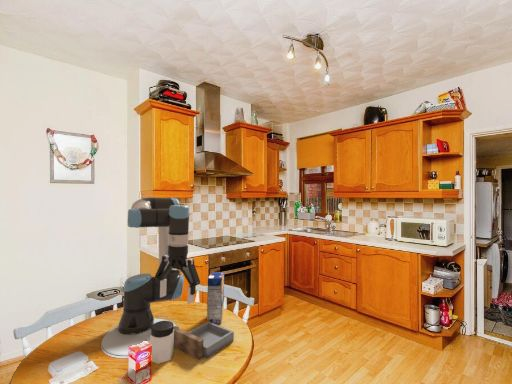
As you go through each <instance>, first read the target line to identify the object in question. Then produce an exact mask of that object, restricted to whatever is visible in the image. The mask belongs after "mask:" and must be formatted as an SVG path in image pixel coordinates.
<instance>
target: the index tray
mask: <svg viewBox="0 0 512 384" xmlns="http://www.w3.org/2000/svg"><path fill="white" fill-rule="evenodd" d="M187 332H188V333H190V334H192V335H195V336H197V337H199V338H201V339H204V340H203V359H204V358H205V359H208V358H210V357H212V356H213V355H214V354H216V353H218V352H219V351H221V350H222V349H224V348H225V347H227V346H228V345H230V344H232V343H233V342H234V340H235V339H234V335H235V331H233V330H231V329H228V328H226V327H223V326H222V325H219V324H213V323H211V322H207V321H206V322H205V323H203V324H202V325H200V326H198V327H195V328H193V329H191V330H190V331H187Z"/></svg>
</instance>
